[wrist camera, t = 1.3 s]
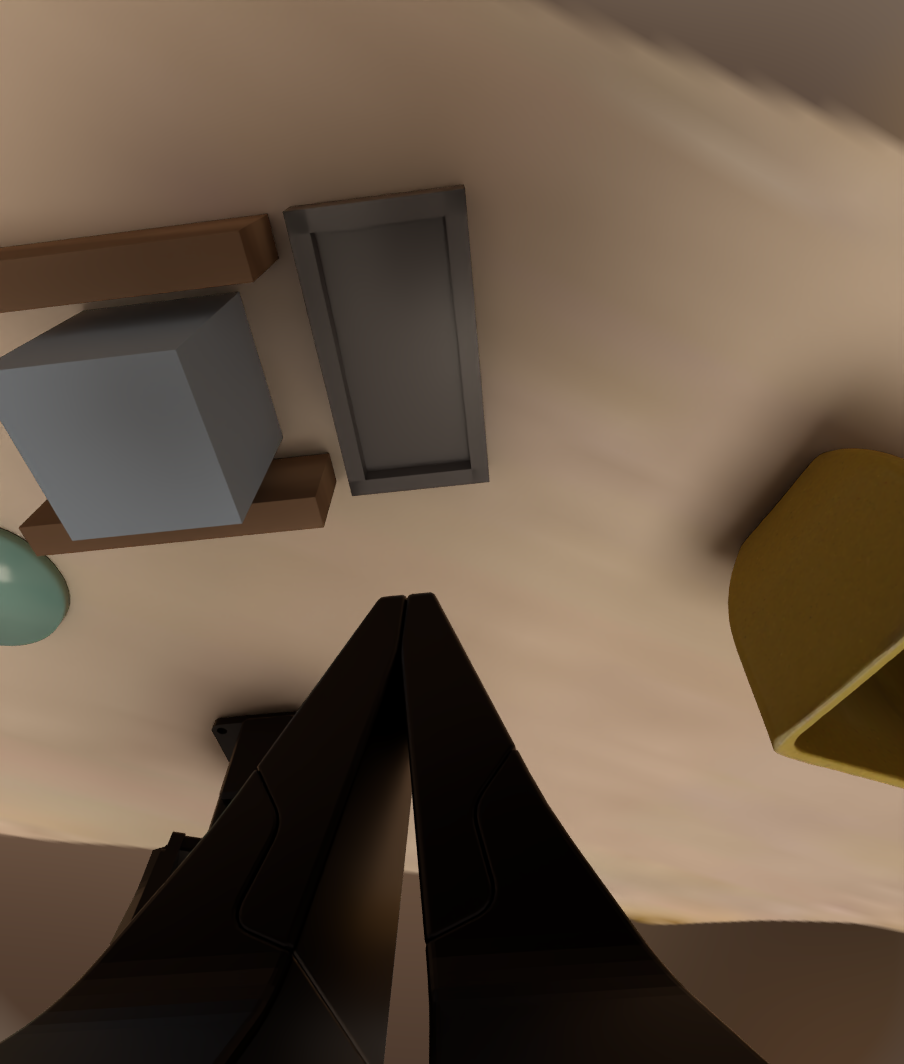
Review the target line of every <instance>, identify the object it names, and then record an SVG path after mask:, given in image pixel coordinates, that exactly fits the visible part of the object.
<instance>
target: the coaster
mask: <svg viewBox="0 0 904 1064" xmlns="http://www.w3.org/2000/svg"><path fill="white" fill-rule="evenodd" d="M69 604H70V603H69V592H68V588H67V585H66V583H65V581H64V579H63V577H62V575H61V574H60V572H59V571H58V569H57V568H56V567H55V566H54V564H53V563H52V562H51V561H50V560H49V559H48V558H47V557H46V556H37V555H36V554H35V552H34V551H33V549H32V548H31V546H30V545H29V543H28V542H26V541H25V540H23V539H22V538H20V537H18V536H16V535H14V534H12V533H10V532H8V531H6V530H3V529H1V528H0V645H3V646H17V645H26V644H31V643H34V642H37V641H40V640H42V639H44V638H46V637H48V636H49V635H50V634H51V633H53V632H54V631H55V629H56V628H57V627H58V625H59V624H60V623H61V621H62V620H63V619H64V617H65V616H66V614H67V612H68V609H69Z"/></svg>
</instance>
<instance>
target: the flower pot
mask: <svg viewBox="0 0 904 1064" xmlns="http://www.w3.org/2000/svg"><path fill="white" fill-rule="evenodd" d="M728 609H729V622H730V627H731V632H732V635H733V639H734V642H735V645H736V649H737V652H738V654H739V657H740V660H741V662H742V665H743V668H744V671H745V673H746V676H747V679H748V681H749V684H750V687H751V689H752V692H753V694H754V697H755V700H756V702H757V705H758V708H759V710H760V713H761V716H762V718H763V721H764V724H765V726H766V729H767V732H768V735H769V738H770V740H771V743H772V746H773V749H774V751H775V752H776V753H778V754H780V755H783V756H785V757H788V758H792V759H795V760H798V761H802V762H805V763H808V764H812V765H816V766H820V767H825V768H829V769H832V770H837V771H840V772H844V773H848V774H851V775H855V776H859V777H863V778H866V779H870V780H874V781H878V782H882V783H885V784H889V785H892V786H896V787H900V788H903V789H904V459H902V458H900V457H897V456H894V455H891V454H888V453H884V452H880V451H875V450H868V449H858V448H849V449H838V450H834V451H828V452H825V453H822V454H821V455H819V456H818V457H816V458H815V459H814V460H813V461H812V463H811V464H810V465H809V466H808V467H807V468H806V470H805V471H804V472H803V473H802V474H801V476H800V477H799V478H798V479H797V480H796V482H795V483H794V484H793V485H792V487H791V488H790V489H789V490H788V491H787V493H786V494H785V495H784V496H783V497H782V499H781V500H780V501H779V502H778V503H777V505H776V506H775V507H774V508H773V509H772V511H771V512H770V513H769V514H768V515H767V516H766V517H765V518H764V519H763V521H762V522H761V523H760V524H759V526H758V527H757V528H756V529H755V530H754V531H753V532H752V533H751V535H750V536H749V537H748V538H747V539H746V541H745V542H744V543H743V545H742V546H741V548H740V550H739V553H738V556H737V559H736V562H735V565H734V568H733V571H732V575H731V580H730V587H729V597H728Z"/></svg>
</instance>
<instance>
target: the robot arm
mask: <svg viewBox="0 0 904 1064" xmlns="http://www.w3.org/2000/svg"><path fill="white" fill-rule="evenodd" d="M212 732H213V734H214V736H215V737H216V739H217V741H218V743H219V745H220V746H221V748H222V750H223V752H224V754H225V755H226V757H227V759H228V761H229V766H228V769H227V772H226V775H225V778H224V781H223V784H222V787H221V790H220V796H219V799H218V802H217V805H216V809H215V812H214V815H213V818H212V821H211V824H210V827H209V830H208V832H207V833H206V834H205V836H204V837H203V838H197V837H190V836H185V835H186V833H179V832H173V833H172V835H171V838H170V840H169V842H168V845H166V846H165V847H162V848H158V849H155V850H153V851H152V854H151V857H150V859H149V862H148V864H147V867H146V869H145V872H144V875H143V877H142V880H141V882H140V884H139V887H138V889H137V891H136V893H135V896H134V898H133V900H132V902H131V904H130V906H129V908H128V910H127V911H126V913H125V915H124V917H123V919H122V921H121V923H120V925H119V927H118V929H117V931H116V933H115V935H114V937H113V939H112V941H111V943H110V946H109V947H108V948H107V949H106V950H105V951H104V952H103V953H102V955H101V956H100V957H99V958H98V959H97V960H96V961H95V963H94V964H93V965H92V966H91V967H90V968H89V969H88V970H87V971H86V972H85V974H83V976H82V977H81V978H80V979H79V980H78V981H77V982H76V983H75V984H74V985H73V986H72V987H71V988H70V989H69V990H68V991H67V992H65V993H64V994H63V995H62V996H61V997H60V998H59V999H58V1000H57V1001H56V1002H54V1003H53V1004H52V1005H51V1006H50V1007H49V1008H48V1009H46V1010H45V1011H44V1012H43V1013H42V1014H40V1015H39V1016H38V1017H36V1018H35V1019H34V1020H33V1021H31V1022H30V1023H28V1024H27V1025H26V1026H25V1027H23V1028H22V1029H20V1030H19V1031H17V1032H16V1033H14V1034H13V1035H11V1036H9V1037H8V1038H6V1039H5V1040H3V1041H1V1042H0V1064H384V1054H385V1045H386V1035H387V1026H388V1017H389V1007H390V997H391V987H392V978H393V968H394V959H395V949H396V938H397V930H398V920H399V910H400V901H401V892H402V882H403V872H404V863H405V853H406V843H407V834H408V824H409V815H410V805H411V795H412V799H413V811H414V822H415V834H416V845H417V857H418V868H419V879H420V891H421V903H422V914H423V926H424V937H425V943H426V961H427V974H428V993H429V1026H430V1027H429V1028H430V1029H429V1033H430V1034H429V1064H770V1063H768V1062H767V1061H766V1060H765V1059H764V1058H763V1057H762V1056H761V1055H760V1054H758V1053H757V1052H756V1051H755V1050H754V1049H753V1048H752V1047H750V1046H749V1045H748V1044H747V1043H746V1042H745V1041H744V1040H743V1039H742V1038H741V1037H739V1036H738V1035H737V1034H736V1033H735V1032H734V1031H733V1030H732V1029H731V1028H729V1027H728V1026H727V1025H726V1024H725V1023H724V1022H722V1020H720V1019H719V1018H718V1017H717V1016H716V1015H715V1014H714V1013H713V1012H712V1011H710V1010H709V1009H708V1008H707V1007H706V1006H705V1005H704V1004H703V1003H701V1002H700V1001H699V1000H698V999H697V998H696V997H695V996H694V995H693V994H692V993H691V992H689V991H688V990H687V989H686V988H685V987H684V986H683V985H682V984H681V983H680V982H679V981H678V979H677V978H675V976H674V975H673V974H672V973H671V972H670V971H669V969H668V968H667V967H666V966H665V965H664V964H663V962H662V961H661V960H660V959H659V958H658V957H657V955H656V954H655V953H654V951H653V950H652V949H651V948H650V947H649V945H648V944H647V943H646V941H645V940H644V939H643V937H642V936H641V935H640V933H639V932H638V931H637V929H636V928H635V927H634V925H633V924H632V923H631V921H630V920H629V918H628V917H627V916H626V914H625V913H624V911H623V910H622V909H621V907H620V906H619V905H618V903H617V902H616V900H615V899H614V898H613V896H612V895H611V893H610V892H609V891H608V889H607V888H606V886H605V885H604V884H603V882H602V881H601V880H600V878H599V877H598V875H597V874H596V873H595V871H594V870H593V868H592V867H591V866H590V864H589V863H588V861H587V860H586V859H585V857H584V856H583V855H582V853H581V852H580V850H579V849H578V848H577V846H576V845H575V843H574V842H573V841H572V839H571V838H570V836H569V835H568V833H567V832H566V830H565V829H564V827H563V826H562V824H561V823H560V821H559V820H558V818H557V817H556V815H555V814H554V812H553V811H552V809H551V808H550V806H549V805H548V803H547V802H546V800H545V798H544V796H543V795H542V793H541V791H540V789H539V788H538V786H537V784H536V783H535V781H534V779H533V777H532V776H531V774H530V772H529V770H528V768H527V767H526V765H525V763H524V761H523V759H522V757H521V755H520V753H519V752H518V750H516V748H515V745H514V743H513V741H512V739H511V737H510V735H509V733H508V731H507V730H506V728H505V726H504V724H503V722H502V720H501V718H500V716H499V714H498V713H497V711H496V709H495V707H494V705H493V703H492V701H491V699H490V698H489V696H488V694H487V692H486V690H485V688H484V686H483V684H482V682H481V681H480V679H479V677H478V675H477V673H476V671H475V669H474V667H473V666H472V664H471V662H470V660H469V658H468V656H467V654H466V652H465V650H464V649H463V647H462V645H461V643H460V641H459V639H458V637H457V635H456V633H455V632H454V630H453V628H452V626H451V624H450V622H449V620H448V618H447V617H446V615H445V613H444V611H443V609H442V607H441V605H440V603H439V601H438V600H437V598H436V596H435V595H434V594H433V593H431V592H429V593H418V594H411V595H409V596H408V598H406V596H404V595H397V596H386V597H381V598H380V599H379V600H378V601H377V602H376V604H375V605H374V606H373V608H372V609H371V611H370V612H369V613H368V615H367V616H366V617H365V619H364V620H363V622H362V623H361V624H360V626H359V627H358V628H357V630H356V631H355V633H354V634H353V635H352V637H351V638H350V639H349V641H348V642H347V644H346V645H345V646H344V648H343V649H342V650H341V652H340V653H339V655H338V656H337V657H336V659H335V660H334V661H333V663H332V664H331V666H330V667H329V668H328V670H327V671H326V672H325V674H324V675H323V677H322V678H321V679H320V681H319V682H318V683H317V685H316V686H315V688H314V689H313V690H312V692H311V693H310V694H309V696H308V697H307V699H306V700H305V701H304V703H303V704H302V706H301V707H300V708H299V710H298V711H297V712H287V713H275V714H263V715H252V716H240V717H229V718H220V719H217V720H215V722H214V725H213V728H212Z"/></svg>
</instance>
